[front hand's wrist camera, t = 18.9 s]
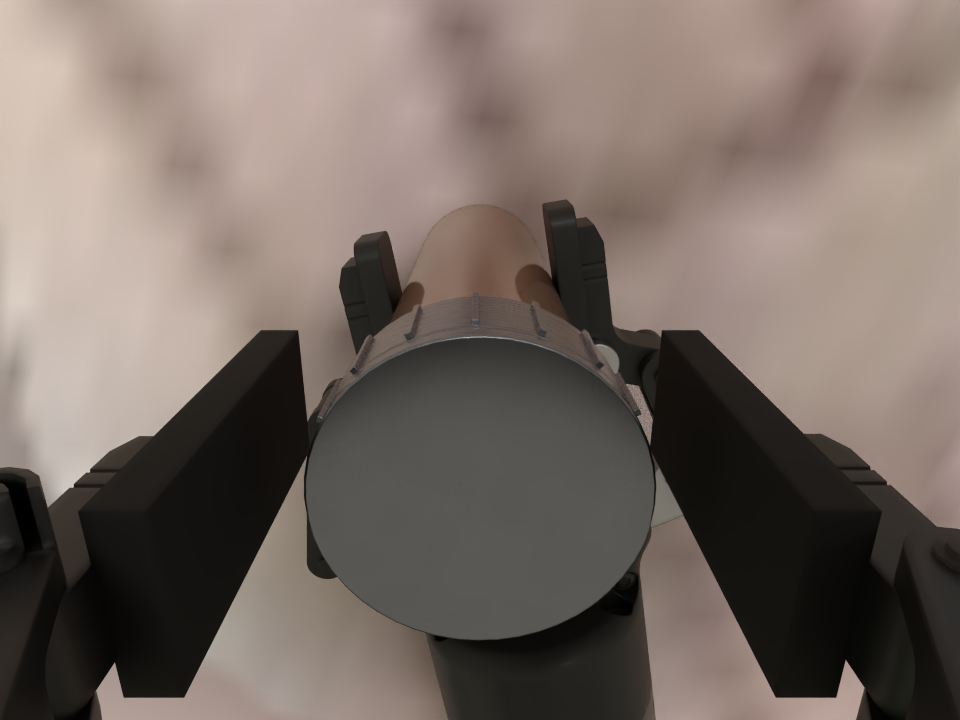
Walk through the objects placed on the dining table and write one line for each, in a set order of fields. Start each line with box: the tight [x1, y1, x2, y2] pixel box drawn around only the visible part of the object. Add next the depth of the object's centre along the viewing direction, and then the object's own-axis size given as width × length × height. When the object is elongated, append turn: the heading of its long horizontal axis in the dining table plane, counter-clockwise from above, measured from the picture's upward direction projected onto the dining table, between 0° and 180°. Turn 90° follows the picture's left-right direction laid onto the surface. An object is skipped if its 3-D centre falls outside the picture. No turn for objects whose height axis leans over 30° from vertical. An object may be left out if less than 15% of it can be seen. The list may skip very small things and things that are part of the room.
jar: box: [389, 205, 571, 324], centre depth 18 cm, size 5×5×16 cm
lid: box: [304, 292, 656, 640], centre depth 11 cm, size 5×5×2 cm
